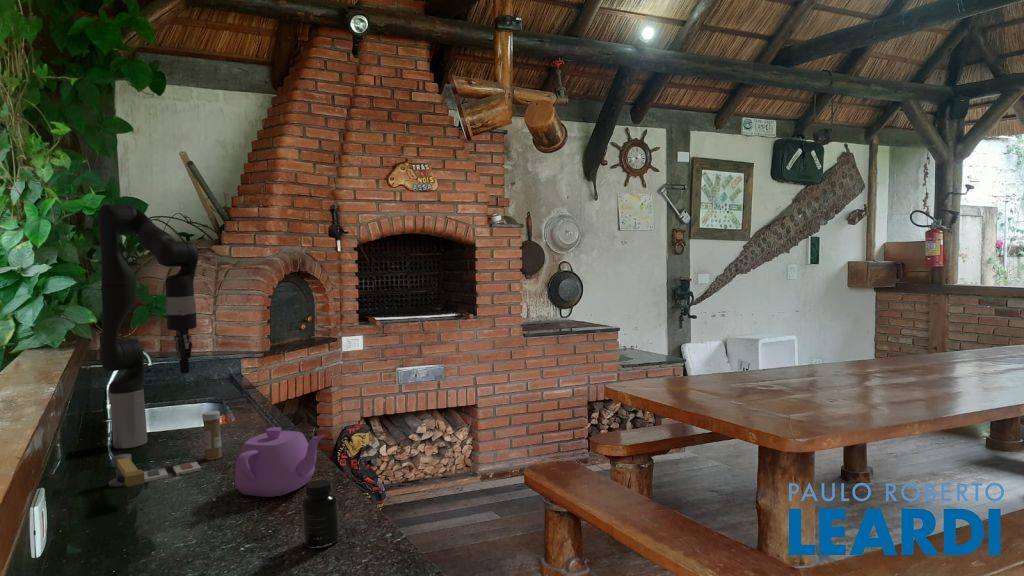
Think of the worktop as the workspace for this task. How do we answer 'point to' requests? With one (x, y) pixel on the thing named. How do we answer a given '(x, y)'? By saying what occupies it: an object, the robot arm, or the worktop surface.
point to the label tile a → (155, 474)
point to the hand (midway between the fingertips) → (184, 372)
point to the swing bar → (128, 469)
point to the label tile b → (186, 468)
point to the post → (118, 480)
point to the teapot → (275, 463)
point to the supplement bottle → (320, 514)
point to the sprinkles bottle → (212, 435)
